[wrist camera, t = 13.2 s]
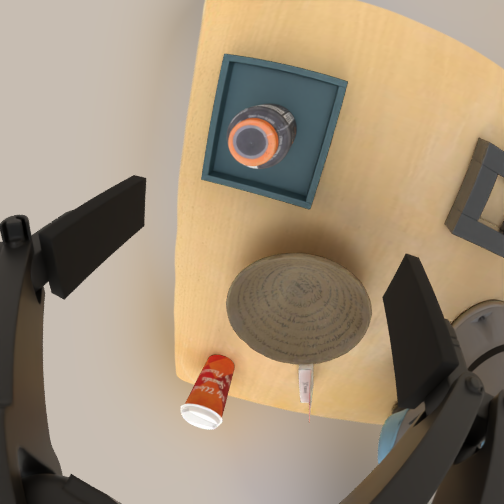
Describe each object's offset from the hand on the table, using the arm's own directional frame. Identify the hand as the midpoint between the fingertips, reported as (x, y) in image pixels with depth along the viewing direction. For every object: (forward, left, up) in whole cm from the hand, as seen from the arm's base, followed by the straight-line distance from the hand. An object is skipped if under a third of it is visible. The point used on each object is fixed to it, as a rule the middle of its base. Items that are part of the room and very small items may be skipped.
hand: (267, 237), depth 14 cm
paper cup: (-44, +3, -23) cm, 50 cm away
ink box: (-37, -13, -23) cm, 45 cm away
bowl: (-19, -6, -23) cm, 30 cm away
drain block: (+3, -28, -23) cm, 36 cm away
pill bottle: (+1, +4, -23) cm, 23 cm away
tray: (+1, +4, -23) cm, 23 cm away
